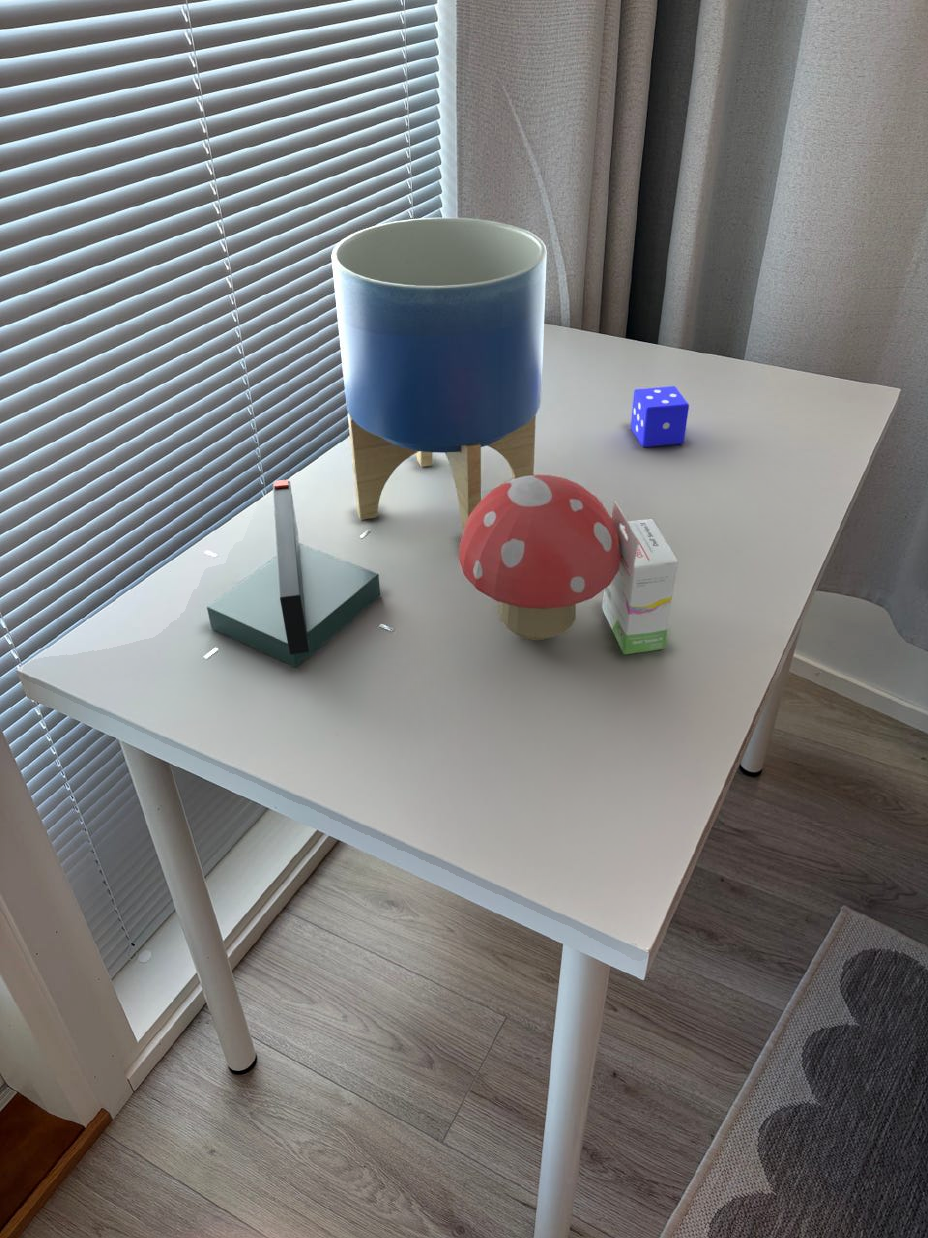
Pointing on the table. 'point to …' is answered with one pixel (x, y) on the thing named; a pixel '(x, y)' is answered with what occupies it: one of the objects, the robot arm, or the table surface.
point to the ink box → (640, 586)
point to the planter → (440, 348)
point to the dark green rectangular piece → (327, 596)
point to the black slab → (289, 569)
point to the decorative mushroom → (539, 552)
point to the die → (659, 416)
